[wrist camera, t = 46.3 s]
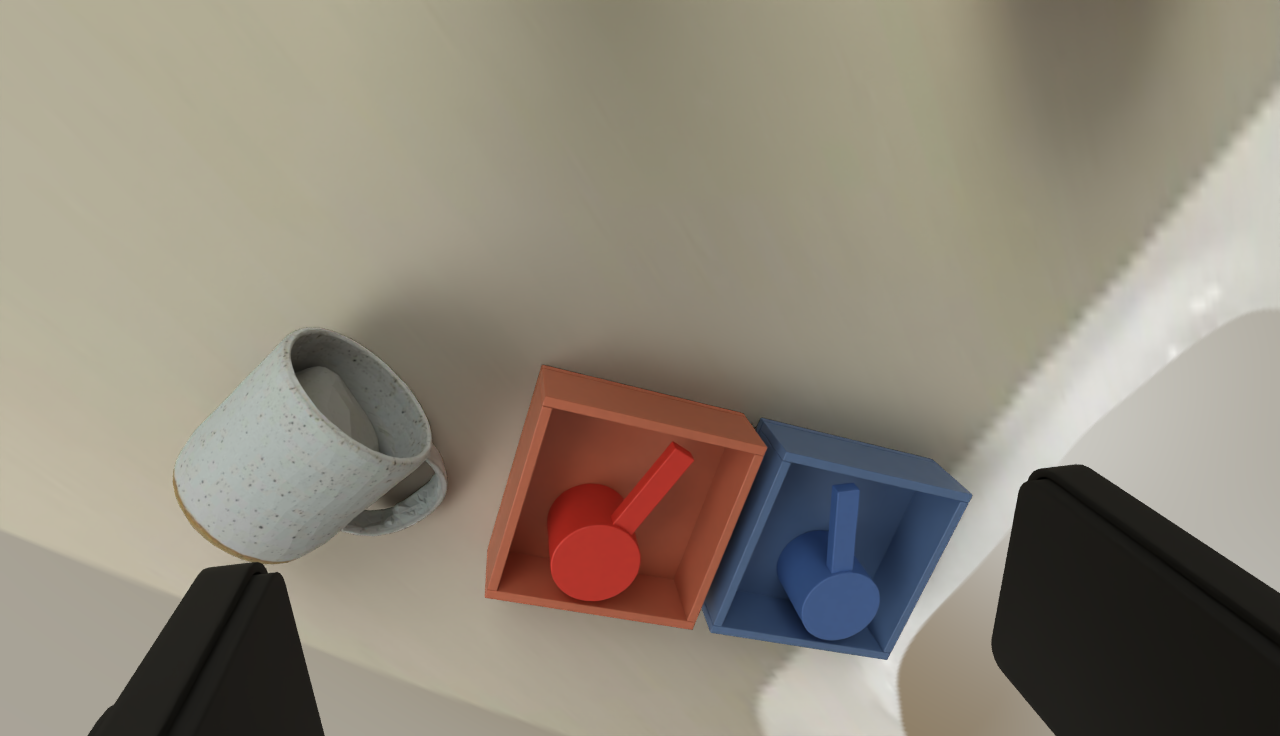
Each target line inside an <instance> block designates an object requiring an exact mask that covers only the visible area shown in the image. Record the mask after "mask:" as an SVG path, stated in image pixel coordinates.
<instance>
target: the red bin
mask: <svg viewBox="0 0 1280 736" xmlns="http://www.w3.org/2000/svg"><path fill="white" fill-rule="evenodd" d="M672 441H673V442H675V443H677V444H678V445H680V446H681V447H683V448H684V449H686V450H687V451H689V452H691V454H692V456H693V458H694V462H693V463H692V464H691V465H690V466H689V468H688V469H687V470H686V471H685V472H684V473H683V475H682V476H681V477H680V478H679V479H678V481H677V482H676V483H675V484H674V485H673V487H672V488H671V489H670V490H669V491H668V493H667V494H666V495H665V496H664V497H663V499H662V500H661V501H660V502H659V503H658V504H657V506H656V507H655V508H654V509H653V510H652V512H651V513H650V514H649V515H648V516H647V518H646V519H645V520H644V521H643V522H642V524H641V525H640V526H639V527H638V528H637V530H636V531H635V535H636V538H637V542H638V546H639V549H640V554H641V564H640V568H639V571H638V574H637V576H636V577H635V579H634V581H633V582H632V583H631V584H630V585H629V586H628V587H627V588H626V589H625V590H624V591H622V592H621V593H619V594H618V595H616V596H614V597H611V598H608V599H605V600H600V601H583V600H579V599H575V598H573V597H571V596H569V595H567V594H565V593H564V592H563V591H562V590H561V589H560V588H559V587H558V586H557V585H556V583H555V582H554V580H553V578H552V575H551V569H550V557H549V544H548V531H547V516H548V512H549V509H550V507H551V506H552V504H553V502H554V501H555V500H556V499H557V498H558V497H559V496H560V495H561V494H562V493H563V492H565V491H566V490H568V489H570V488H572V487H575V486H578V485H582V484H600V485H604V486H607V487H610V488H612V489H613V490H615V491H616V492H618V493H619V494H620V495H621V496H622V497H623V499H625V498H626V497H627V496H628V494H629V493H630V492H631V491H632V490H633V488H634V487H635V486H636V485H637V483H638V482H639V481H640V480H641V479H642V477H643V476H644V475H645V474H646V473H647V471H648V470H649V469H650V468H651V467H652V465H653V464H654V463H655V462H656V460H657V459H658V458H659V457H660V456H661V454H662V453H663V452H664V451H665V450H666V448H667V447H668V446H669V445H670V443H671V442H672ZM766 450H767V446H766V445H765V443H764V442H763V441H762V439H761V438H760V436H759V435H758V433H757V432H756V431H755V429H754V428H753V426H752V425H751V424H750V422H749V421H748V419H747V418H746V417H745V415H744V414H743V413H740V412H736V411H732V410H728V409H724V408H719V407H715V406H711V405H707V404H703V403H699V402H695V401H691V400H686V399H682V398H678V397H674V396H670V395H666V394H662V393H658V392H653V391H649V390H645V389H641V388H637V387H633V386H629V385H625V384H620V383H616V382H612V381H608V380H604V379H600V378H596V377H592V376H587V375H583V374H579V373H575V372H571V371H567V370H563V369H559V368H555V367H550V366H546V365H542V366H541V369H540V373H539V376H538V379H537V383H536V386H535V390H534V393H533V396H532V400H531V403H530V407H529V410H528V413H527V417H526V420H525V424H524V427H523V430H522V434H521V437H520V441H519V444H518V447H517V451H516V454H515V458H514V461H513V464H512V468H511V471H510V475H509V478H508V481H507V485H506V488H505V492H504V495H503V498H502V502H501V505H500V509H499V512H498V515H497V519H496V522H495V525H494V529H493V532H492V536H491V539H490V542H489V546H488V549H487V566H486V584H485V598H490V599H497V600H503V601H510V602H516V603H523V604H529V605H536V606H542V607H549V608H555V609H561V610H568V611H574V612H581V613H587V614H594V615H600V616H607V617H613V618H620V619H626V620H632V621H639V622H645V623H652V624H658V625H665V626H671V627H678V628H684V629H691V630H692V629H693V627H694V625H695V622H696V620H697V617H698V615H699V613H700V610H701V608H702V605H703V603H704V600H705V598H706V596H707V593H708V591H709V588H710V586H711V583H712V581H713V579H714V576H715V574H716V571H717V569H718V566H719V564H720V562H721V559H722V557H723V554H724V552H725V549H726V547H727V545H728V542H729V540H730V537H731V535H732V532H733V530H734V528H735V525H736V523H737V520H738V518H739V515H740V513H741V511H742V508H743V506H744V503H745V501H746V498H747V496H748V493H749V491H750V489H751V486H752V484H753V481H754V479H755V476H756V474H757V472H758V469H759V467H760V464H761V462H762V459H763V456H764V455H765V452H766Z"/></svg>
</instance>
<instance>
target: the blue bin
mask: <svg viewBox="0 0 1280 736" xmlns="http://www.w3.org/2000/svg"><path fill="white" fill-rule="evenodd" d="M756 432H757V433H758V435H759V436H760V438H761V439H762V441H763V442H764V443H765V445H766V446H767V450H766V452H765V455H764V456H763V459H762V462H761V464H760V467H759V469H758V472H757V474H756V476H755V479H754V481H753V484H752V486H751V489H750V491H749V493H748V496H747V498H746V501H745V503H744V506H743V508H742V511H741V513H740V515H739V518H738V520H737V523H736V525H735V528H734V530H733V532H732V535H731V537H730V540H729V542H728V545H727V547H726V549H725V552H724V554H723V557H722V559H721V562H720V564H719V566H718V569H717V571H716V574H715V576H714V579H713V581H712V583H711V586H710V588H709V591H708V593H707V596H706V598H705V600H704V603H703V605H702V611H703V613H704V616H705V619H706V622H707V624H708V627H709V630H710V632H711V633H716V634H723V635H729V636H736V637H742V638H749V639H755V640H762V641H768V642H774V643H781V644H787V645H794V646H800V647H807V648H813V649H820V650H826V651H833V652H839V653H845V654H852V655H858V656H865V657H871V658H878V659H884V660H887V659H888V657H889V655H890V653H891V651H892V650H893V648H894V646H895V644H896V642H897V640H898V638H899V636H900V634H901V632H902V630H903V628H904V626H905V625H906V623H907V621H908V619H909V617H910V615H911V613H912V611H913V609H914V607H915V605H916V603H917V601H918V599H919V598H920V596H921V594H922V592H923V590H924V588H925V586H926V584H927V582H928V580H929V578H930V576H931V574H932V573H933V571H934V569H935V567H936V565H937V563H938V561H939V559H940V557H941V555H942V553H943V551H944V549H945V548H946V546H947V544H948V542H949V540H950V538H951V536H952V534H953V532H954V530H955V528H956V526H957V524H958V522H959V521H960V519H961V517H962V515H963V513H964V511H965V509H966V507H967V505H968V502H969V501H970V499H971V498H972V494H971V493H970V492H969V491H968V490H967V489H965V488H964V487H963V486H962V485H961V484H960V483H959V482H957V481H956V480H955V479H954V478H953V477H952V476H951V475H950V474H948V473H947V472H946V471H945V470H944V469H943V468H942V467H941V466H939V465H938V464H937V463H936V462H935V461H934V460H933V459H930V458H925V457H921V456H917V455H913V454H909V453H905V452H901V451H897V450H892V449H888V448H884V447H880V446H876V445H872V444H868V443H864V442H859V441H855V440H851V439H847V438H843V437H839V436H835V435H831V434H826V433H822V432H818V431H814V430H810V429H806V428H802V427H798V426H794V425H789V424H785V423H781V422H777V421H773V420H769V419H765V418H760V421H759V423H758V426H757V428H756ZM845 483H854V484H855V485H856V486H857V487H858V488H859V489H860V497H859V508H858V519H857V530H856V541H855V552H854V555H855V557H856V558H857V559H858V561H859V562H860V563H861V565H862V566H863V568H864V569H865V570H866V572H867V573H868V574H869V576H870V577H871V578H872V580H873V581H874V583H875V584H876V585H877V587H878V590H879V594H880V603H879V608H878V611H877V613H876V615H875V616H874V618H873V619H872V621H871V622H870V623H869V624H868V625H867V626H866V627H865V628H864V629H863V630H861V631H860V632H858V633H857V634H855V635H853V636H850V637H848V638H845V639H840V640H824V639H820V638H817V637H815V636H814V635H812V634H811V633H809V632H808V631H807V629H806V628H805V626H804V625H803V623H802V621H801V619H800V617H799V616H798V614H797V612H796V610H795V608H794V606H793V604H792V603H791V601H790V599H789V597H788V595H787V593H786V591H785V590H784V588H783V586H782V584H781V582H780V580H779V578H778V575H777V562H778V559H779V556H780V554H781V552H782V551H783V549H784V548H785V547H786V546H787V545H788V543H790V542H791V541H792V540H793V539H795V538H796V537H798V536H800V535H802V534H804V533H807V532H810V531H818V530H822V531H829V521H830V507H831V494H832V485H837V484H845Z"/></svg>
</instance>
